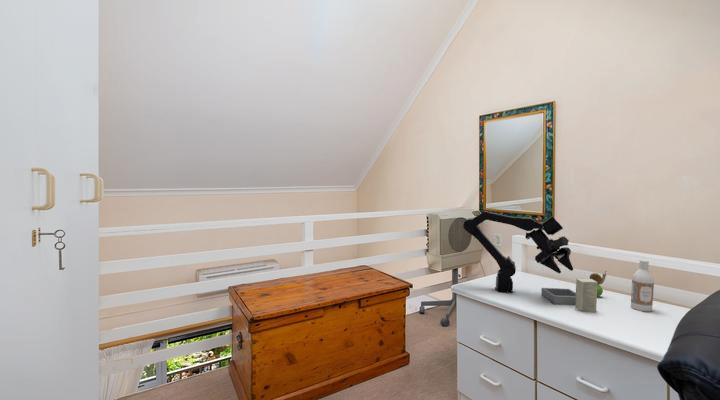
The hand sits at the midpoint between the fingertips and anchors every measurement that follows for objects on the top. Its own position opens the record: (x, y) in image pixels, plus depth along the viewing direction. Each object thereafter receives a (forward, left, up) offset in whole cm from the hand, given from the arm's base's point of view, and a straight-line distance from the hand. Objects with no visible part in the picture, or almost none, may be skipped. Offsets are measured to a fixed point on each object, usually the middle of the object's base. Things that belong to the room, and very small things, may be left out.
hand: (566, 271), depth 150 cm
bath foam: (+29, -3, -14) cm, 32 cm away
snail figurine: (+20, +12, -14) cm, 27 cm away
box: (+1, +4, -14) cm, 14 cm away
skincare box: (+5, -7, -14) cm, 16 cm away
